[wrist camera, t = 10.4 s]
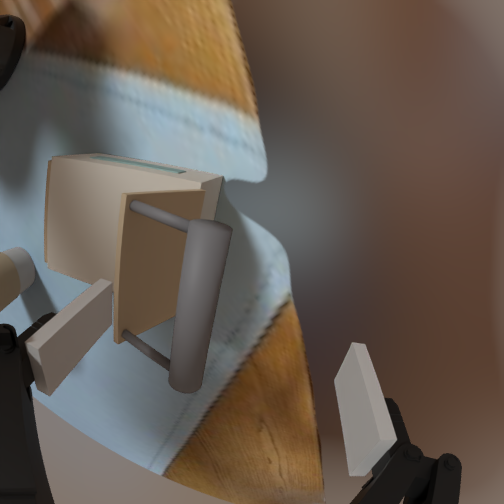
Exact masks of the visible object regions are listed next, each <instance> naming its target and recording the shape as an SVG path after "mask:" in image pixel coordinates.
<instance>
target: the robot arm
mask: <svg viewBox="0 0 504 504" xmlns="http://www.w3.org/2000/svg"><path fill="white" fill-rule="evenodd" d="M24 37H25V27H24V23H23V21H22V20H21V19H20V18H18V17H16V16H13V15H0V90H1V89H2V87H3V86H4V85H5V84H6V82H7V81H8V79H9V78H10V76H11V74H12V72H13V71H14V69H15V66H16V64H17V62H18V59H19V57H20V54H21V51H22V47H23V43H24ZM111 324H112V282H110V281H107V280H104V279H99V280H98V281H97V282H96V283H94V284H93V285H92V286H91V287H89V288H88V289H87V290H86V291H84V292H83V293H82V294H81V295H79V296H78V297H77V298H76V299H74V300H73V301H72V302H71V303H70V304H68V305H67V306H66V307H65V308H64V309H62V310H61V311H60V312H59V313H58V314H55V313H52V312H51V313H49V314H46V315H44V316H42V317H41V318H40V319H38V320H37V322H35V323H34V324H32V326H30V327H29V328H28V329H26V330H25V331H24V332H23V333H22V334H21V335H19V336H18V337H17V334H16V330H15V328H14V327H13V326H12V325H9V324H0V504H55V503H54V500H53V497H52V493H51V490H50V486H49V483H48V479H47V475H46V471H45V467H44V463H43V459H42V455H41V450H40V444H39V439H38V434H37V428H36V422H35V415H34V407H33V399H32V390H31V387H30V385H31V384H32V383H33V382H34V380H35V384H36V387H37V389H38V390H39V391H41V392H43V393H45V394H46V395H48V396H51V395H52V393H53V392H54V391H55V390H56V388H57V387H58V386H59V385H60V384H61V382H62V381H63V380H64V379H65V378H66V376H67V375H68V374H69V373H70V372H71V370H72V369H73V368H74V367H75V366H76V365H77V363H78V362H79V361H80V360H81V359H82V358H83V356H84V355H85V354H86V353H87V352H88V351H89V349H90V348H91V347H92V346H93V345H94V344H95V343H96V341H97V340H98V339H99V338H100V337H101V336H102V335H103V333H104V332H105V331H106V330H107V329H108V328H109V327H110V326H111ZM334 382H335V388H336V393H337V399H338V405H339V411H340V417H341V423H342V429H343V435H344V443H345V449H346V456H347V463H348V471H349V476H365V475H366V474H367V473H368V472H369V471H370V470H371V469H372V474H373V477H372V478H371V479H370V480H369V481H368V482H367V483H366V484H365V485H364V486H363V487H362V490H361V491H360V492H359V494H358V495H357V496H356V497H355V498H354V499H353V500H352V502H351V503H350V504H399V503H400V502H401V500H402V499H403V497H404V496H405V497H404V501H403V504H458V502H459V493H460V484H461V470H462V466H461V462H460V460H459V459H458V458H457V457H456V456H455V455H453V454H449V453H446V454H443V455H442V456H440V458H439V459H433V458H429V457H425V456H424V455H423V453H422V451H421V449H419V448H418V447H417V446H415V445H413V444H411V442H410V439H409V436H408V434H407V431H406V428H405V425H404V422H403V419H402V416H401V413H400V411H399V408H398V405H397V404H396V403H395V402H394V401H393V399H391V398H384V397H383V394H382V391H381V388H380V385H379V382H378V379H377V376H376V373H375V371H374V368H373V365H372V362H371V360H370V356H369V354H368V351H367V348H366V346H365V344H359V343H352V344H351V346H350V349H349V351H348V353H347V355H346V357H345V359H344V362H343V364H342V365H341V368H340V370H339V372H338V374H337V376H336V378H335V380H334Z"/></svg>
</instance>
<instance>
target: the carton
mask: <svg viewBox="0 0 504 504" xmlns="http://www.w3.org/2000/svg"><path fill="white" fill-rule="evenodd" d="M222 179H223V175H218V174H213V173H208V172H204V171H199V170H194V169H189V168H184V167H178V166H173V165H168V164H162V163H157V162H151V161H145V160H139V159H133V158H127V157H121V156H115V155H108V154H101V153H93V154H77V155H64V156H52V160H50V161H48V170H47V181H46V195H45V219H44V254H45V262H46V263H48V268H49V269H51V270H54V271H56V272H59V273H62V274H64V275H67V276H70V277H72V278H75V279H78V280H80V281H83V282H86V283H89V284H92V285H93V284H94V283H96V282H97V281H98V280H99V279H104V280H107V281H110V282H112V292H114V279H115V259H116V245H117V232H118V222H119V212H120V203H121V195H122V193H130V192H146V191H165V190H188V189H202V190H206V191H205V196H204V201H203V207H202V212H201V217H200V219H206V220H213V221H214V218H215V213H216V208H217V203H218V198H219V193H220V188H221V184H222Z"/></svg>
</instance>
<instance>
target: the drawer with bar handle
mask: <svg viewBox="0 0 504 504" xmlns="http://www.w3.org/2000/svg"><path fill="white" fill-rule="evenodd" d="M205 191H206V190H202V189H188V190H165V191H146V192H130V193H122V195H121V203H120V212H119V222H118V232H117V245H116V259H115V279H114V342H116V343H117V344H120V343H122V342H124V341H128V342H129V343H130V344H132V345H133V346H134V347H136V348H137V349H138V350H140V351H141V352H142V353H144V354H145V355H147V356H148V357H149V358H151V359H152V360H154V361H155V362H156V363H158V364H159V365H161V366H162V367H164V368H165V369H166V370H168V371H169V384H170V386H171V387H172V388H173V389H175V390H176V391H178V392H181V393H194V392H196V391H198V390H199V389H200V388H201V385H202V380H203V374H204V369H205V364H206V358H207V353H208V348H209V343H210V338H211V332H212V327H213V322H214V317H215V312H216V307H217V302H218V297H219V292H220V287H221V282H222V278H223V273H224V268H225V263H226V258H227V254H228V249H229V244H230V239H231V235H232V228H231V227H230V226H228V225H226V224H223V223H221V222H217V221H213V220H206V219H200V217H201V212H202V207H203V201H204V196H205ZM174 316H175V323H174V331H173V340H172V349H171V359H170V360H169V359H168V358H166V357H165V356H163V355H162V354H161V353H159V352H158V351H156V350H155V349H153V348H152V347H150V346H149V345H148V344H146V343H145V342H143V341H142V340H141V339H139V338H138V337H136V335H138V334H140V333H142V332H144V331H146V330H148V329H150V328H152V327H154V326H156V325H158V324H160V323H162V322H164V321H166V320H168V319H170V318H172V317H174Z"/></svg>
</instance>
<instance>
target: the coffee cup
mask: <svg viewBox="0 0 504 504" xmlns="http://www.w3.org/2000/svg"><path fill="white" fill-rule="evenodd" d="M34 280H35V267H34V263H33V261H32V259H31V257H30V255H29V254H28V253H27V251H26V250H24V249H23V248H21V247H15V248H12V249H9V250H6V251H3V252H0V312H1V311H2V310H3V309H4V308H5V307H6V306H8V305H9V304H10V303H11V302H12V301H13V300H15V299H16V298H17V297H18V296H19V294H21V293H22V292H23V291H24V290H26V289H27V288H28V287H29V286H31V285H32V284H33V283H34Z"/></svg>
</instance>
